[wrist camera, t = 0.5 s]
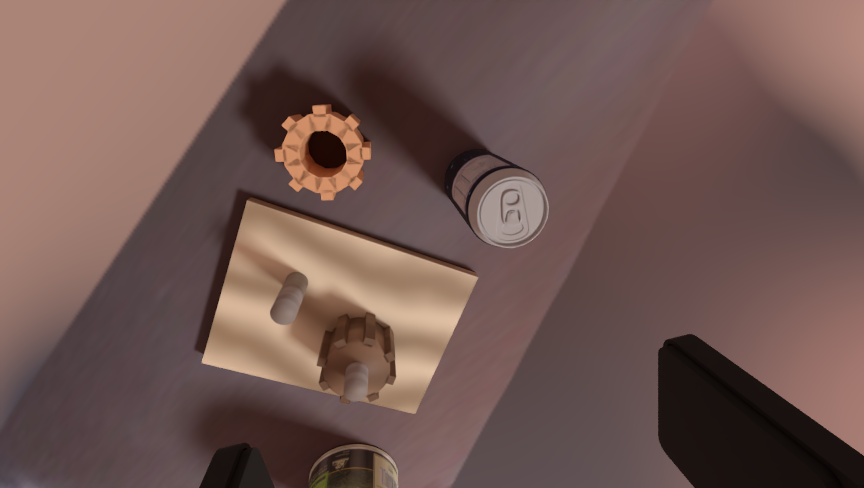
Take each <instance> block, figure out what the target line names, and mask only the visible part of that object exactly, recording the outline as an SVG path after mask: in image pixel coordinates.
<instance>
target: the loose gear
mask: <svg viewBox="0 0 864 488" xmlns="http://www.w3.org/2000/svg"><path fill="white" fill-rule="evenodd" d="M360 122H361V120H359V119H358V118H357V117H356V116H355V115H354V114H351V115H350V116H349V117H348V118H346V117H344V116H342V115H341V114H339V113H337V112H332V108H331V104H327V105H314V106H313V113H312V114H308V115H307V116H305V117H303V116H302V115H300V114H297V115H293V116H289V117H288V118H287V119H286V121H285V122H284V123H283V124H282V125H281V126H283V127H284V128H285V129H286V130H287V131H288V133H287V135H286V137H285V139H284V142H283V144H282V146H280V147H278V148H277V149H275V150H274V151H275V159H276V162H284V165H285V167H286V169H287V170H288V171H289V173H290V174H291V175H292V177H293V178H294V179H293V180H292V181H291V182H290V183H289V185H290V186H291V187H292V188H294V189H295V190H296V191H297V192H298V191H299V190H300V189H301V188H302V187H305V188H307V189H309V190H312V191H314V192H316V193H321V199H322V200H333V199H334V197H335V195H336V192H338V191H340V190H341V189H343V188H345V187H346V186H348V185H350V186H351V187H352V188H353V189H354V190H355V189H356V188H357V187H358V186H359V185H360V184H361V183H362V182H363V176H364V172H363V171H362V170H361V167H362V165H363V161H364V160H367V159H371V142H364V139H363V136H362V135H361V133H360V132H359V130H358V128H357V126H358V125H359V123H360ZM315 131H329V132H330V133H332V134H334V135H336V136H338V137H339V138H340V139H341V141H342V142H343V144H344V146H345V147H346V154H347V161H346V162H345V163H344V164H342V165H341V166H339V167H337V168H324V167H322V166H320V165H318V164H317V163H315V161H314V160H313V158H312V157H311V155H310V154H309V146H308V142H309V140H310V138H311V136H312V133H313V132H315Z"/></svg>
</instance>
